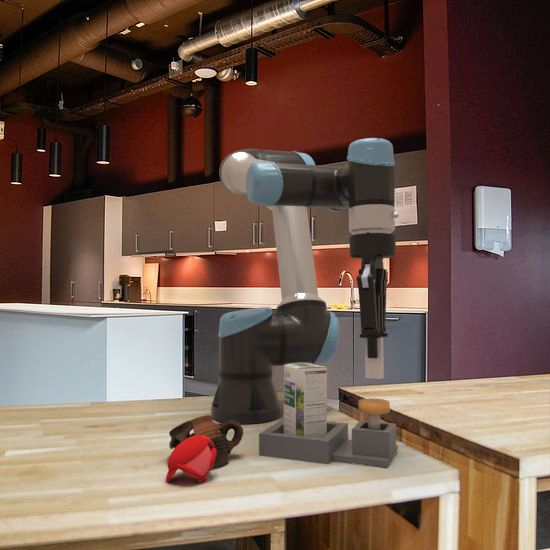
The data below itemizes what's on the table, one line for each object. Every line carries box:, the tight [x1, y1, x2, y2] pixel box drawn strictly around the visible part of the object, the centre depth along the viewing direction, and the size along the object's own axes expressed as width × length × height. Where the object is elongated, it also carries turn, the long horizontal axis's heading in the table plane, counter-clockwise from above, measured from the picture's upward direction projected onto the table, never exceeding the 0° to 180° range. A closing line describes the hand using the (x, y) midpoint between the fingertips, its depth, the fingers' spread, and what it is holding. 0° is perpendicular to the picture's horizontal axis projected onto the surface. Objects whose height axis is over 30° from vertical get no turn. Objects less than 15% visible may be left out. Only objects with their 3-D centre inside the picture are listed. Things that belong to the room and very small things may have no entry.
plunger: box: [358, 398, 391, 430], centre depth 86 cm, size 5×5×6 cm
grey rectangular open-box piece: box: [258, 418, 399, 468], centre depth 89 cm, size 21×12×5 cm, turn 67°
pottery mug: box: [168, 414, 244, 468], centre depth 86 cm, size 12×10×8 cm
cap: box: [165, 435, 217, 483], centre depth 77 cm, size 8×6×6 cm
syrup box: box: [283, 363, 328, 438], centre depth 91 cm, size 6×6×14 cm
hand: (374, 377), depth 86 cm, fingers closed
